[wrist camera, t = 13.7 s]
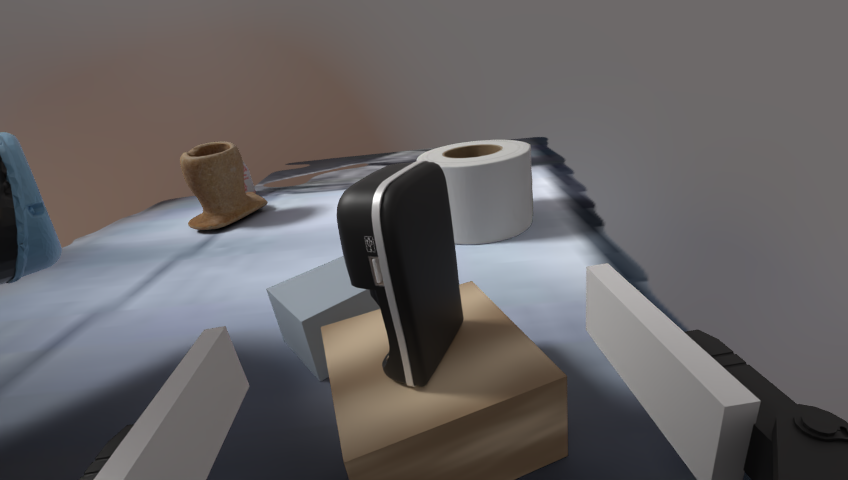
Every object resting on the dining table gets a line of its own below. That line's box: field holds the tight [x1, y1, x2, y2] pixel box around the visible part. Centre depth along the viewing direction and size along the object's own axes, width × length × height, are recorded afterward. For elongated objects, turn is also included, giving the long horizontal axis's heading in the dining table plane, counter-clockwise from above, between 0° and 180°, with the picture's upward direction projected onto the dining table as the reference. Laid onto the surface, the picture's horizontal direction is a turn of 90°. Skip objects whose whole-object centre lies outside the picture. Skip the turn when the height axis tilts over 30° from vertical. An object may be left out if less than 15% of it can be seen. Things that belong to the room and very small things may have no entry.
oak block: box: [321, 281, 568, 480], centre depth 27 cm, size 12×12×6 cm
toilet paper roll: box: [417, 140, 533, 245], centre depth 58 cm, size 16×15×11 cm
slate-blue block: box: [266, 256, 380, 382], centre depth 37 cm, size 8×8×6 cm
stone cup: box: [180, 142, 267, 230], centre depth 77 cm, size 15×12×15 cm
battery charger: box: [337, 161, 464, 387], centre depth 23 cm, size 7×4×11 cm, turn 156°
